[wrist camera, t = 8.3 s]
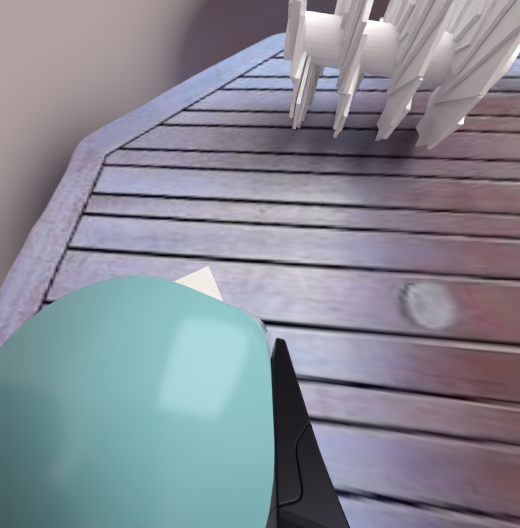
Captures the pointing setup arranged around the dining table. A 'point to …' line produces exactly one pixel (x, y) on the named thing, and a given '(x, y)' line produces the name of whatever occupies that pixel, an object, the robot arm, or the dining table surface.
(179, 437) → the teal cylinder
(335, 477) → the dining table surface
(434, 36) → the spiral staircase
